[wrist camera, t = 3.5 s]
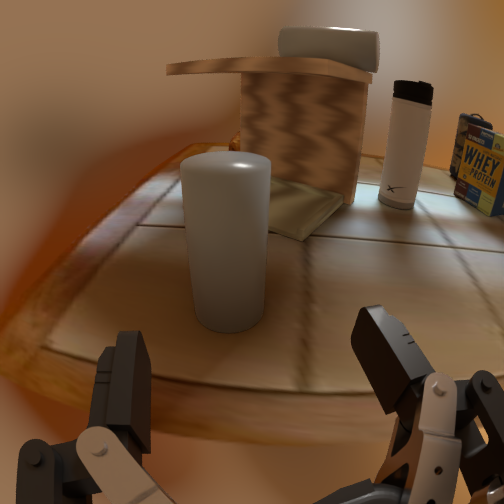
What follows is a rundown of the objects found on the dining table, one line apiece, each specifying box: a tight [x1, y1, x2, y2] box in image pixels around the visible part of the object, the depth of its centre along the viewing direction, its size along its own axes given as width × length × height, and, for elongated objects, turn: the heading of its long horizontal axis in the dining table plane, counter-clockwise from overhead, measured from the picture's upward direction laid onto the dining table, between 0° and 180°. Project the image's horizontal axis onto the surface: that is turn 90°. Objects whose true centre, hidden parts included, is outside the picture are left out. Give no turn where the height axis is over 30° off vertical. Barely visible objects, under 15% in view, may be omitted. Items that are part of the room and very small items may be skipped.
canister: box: [450, 113, 493, 178], centre depth 57 cm, size 10×10×18 cm
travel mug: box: [378, 80, 434, 209], centre depth 40 cm, size 6×7×20 cm
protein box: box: [454, 123, 504, 217], centre depth 45 cm, size 10×15×16 cm
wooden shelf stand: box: [166, 57, 372, 242], centre depth 38 cm, size 21×17×20 cm
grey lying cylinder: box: [278, 26, 380, 73], centre depth 31 cm, size 6×6×12 cm
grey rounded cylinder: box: [180, 151, 271, 333], centre depth 22 cm, size 6×6×12 cm
